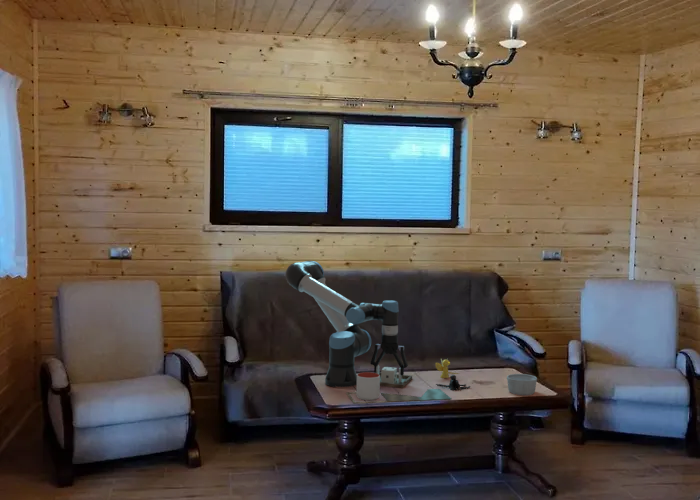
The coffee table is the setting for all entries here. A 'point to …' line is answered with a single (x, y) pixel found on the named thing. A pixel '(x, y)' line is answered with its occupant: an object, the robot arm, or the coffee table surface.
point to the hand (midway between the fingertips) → (388, 380)
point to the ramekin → (521, 384)
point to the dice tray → (402, 384)
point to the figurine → (444, 368)
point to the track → (408, 397)
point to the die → (389, 375)
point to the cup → (368, 386)
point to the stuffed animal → (454, 384)
